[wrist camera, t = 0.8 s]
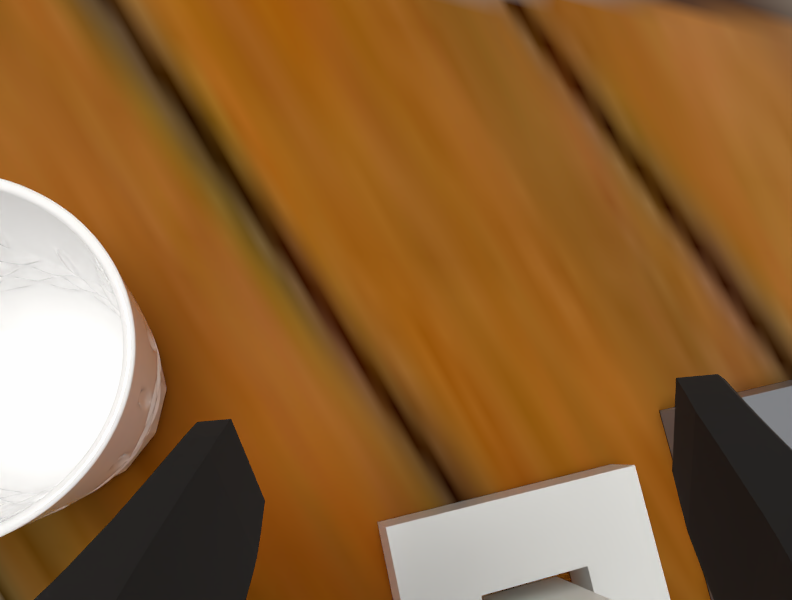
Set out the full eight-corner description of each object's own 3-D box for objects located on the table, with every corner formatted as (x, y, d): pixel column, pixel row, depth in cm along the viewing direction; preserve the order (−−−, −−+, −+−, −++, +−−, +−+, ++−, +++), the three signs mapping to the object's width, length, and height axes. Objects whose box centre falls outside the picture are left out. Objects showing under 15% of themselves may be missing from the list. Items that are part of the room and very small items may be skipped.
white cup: (152, 533, 24) (78, 587, 14) (-102, 493, 23) (-367, 524, 13) (207, 303, 26) (174, 214, 16) (-27, 256, 25) (-212, 131, 15)
